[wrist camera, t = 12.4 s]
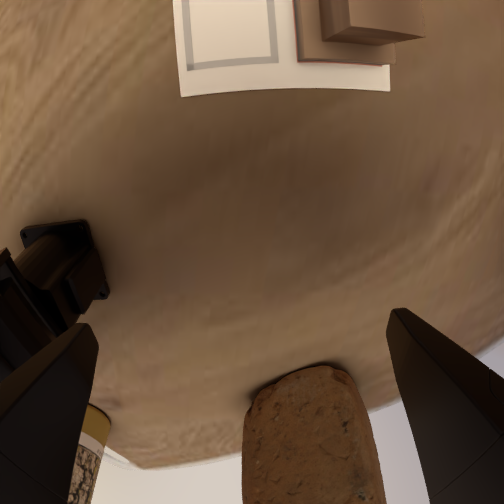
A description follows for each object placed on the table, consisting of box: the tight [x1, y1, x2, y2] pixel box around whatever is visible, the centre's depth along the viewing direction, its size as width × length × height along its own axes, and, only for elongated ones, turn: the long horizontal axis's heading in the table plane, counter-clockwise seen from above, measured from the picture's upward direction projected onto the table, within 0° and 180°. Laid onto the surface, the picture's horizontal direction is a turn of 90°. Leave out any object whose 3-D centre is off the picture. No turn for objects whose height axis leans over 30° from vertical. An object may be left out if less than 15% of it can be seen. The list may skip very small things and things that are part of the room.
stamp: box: [293, 0, 425, 65], centre depth 11 cm, size 5×5×7 cm
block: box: [242, 366, 387, 504], centre depth 20 cm, size 11×8×20 cm
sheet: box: [173, 0, 390, 97], centre depth 14 cm, size 12×8×1 cm, turn 94°
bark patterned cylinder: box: [68, 405, 110, 504], centre depth 22 cm, size 7×7×25 cm
